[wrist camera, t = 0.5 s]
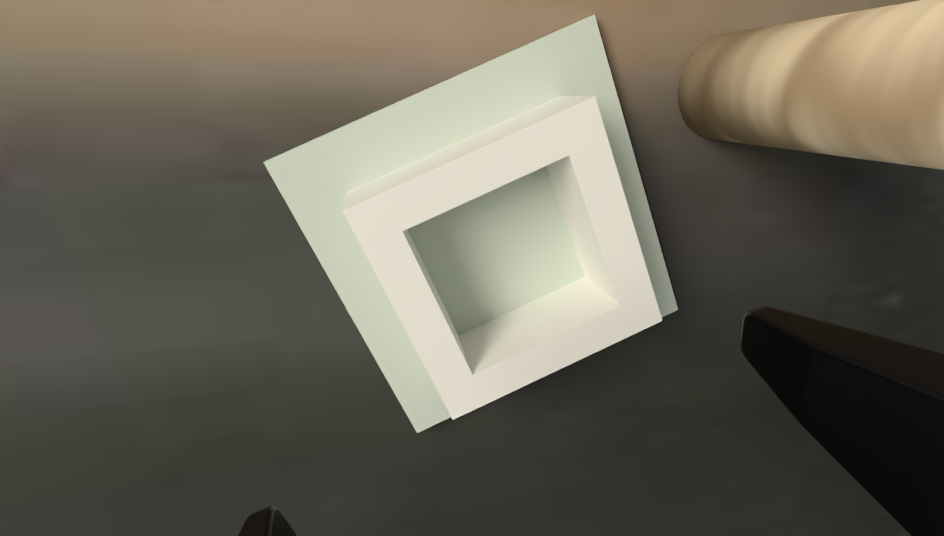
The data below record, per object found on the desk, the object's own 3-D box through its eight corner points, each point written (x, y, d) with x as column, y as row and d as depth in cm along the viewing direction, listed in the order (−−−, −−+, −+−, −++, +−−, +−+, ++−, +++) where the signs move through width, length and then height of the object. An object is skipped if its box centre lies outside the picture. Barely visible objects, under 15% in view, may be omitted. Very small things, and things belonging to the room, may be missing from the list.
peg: (776, 115, 23) (1210, 138, 11) (690, 155, 23) (1037, 221, 11) (760, 16, 22) (1244, -82, 10) (667, 58, 22) (1042, 12, 10)
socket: (671, 305, 26) (723, 342, 22) (416, 425, 25) (424, 484, 21) (588, 16, 21) (637, -2, 17) (266, 160, 20) (241, 175, 16)
